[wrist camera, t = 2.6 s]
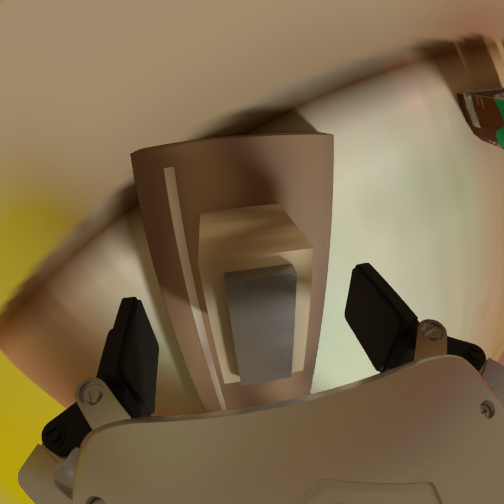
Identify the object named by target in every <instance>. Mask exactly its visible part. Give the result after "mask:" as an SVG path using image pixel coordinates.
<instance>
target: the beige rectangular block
mask: <svg viewBox="0 0 504 504" xmlns="http://www.w3.org/2000/svg"><path fill="white" fill-rule="evenodd" d="M313 253H314V248H313V246H312V245H311V244H310V242H309V241H308V240H307V238H306V237H305V236H304V235H303V233H302V232H301V231H300V229H299V228H298V227H297V226H296V224H295V223H294V222H293V220H292V219H291V218H290V217H289V215H288V214H287V213H286V212H285V210H284V209H283V208H282V207H281V205H280V204H270V205H261V206H251V207H243V208H234V209H226V210H218V211H210V212H202V213H200V227H199V252H198V265H199V271H200V276H201V281H202V286H203V291H204V296H205V301H206V306H207V311H208V315H209V320H210V324H211V329H212V333H213V338H214V342H215V347H216V351H217V355H218V359H219V363H220V367H221V371H222V375H223V379H224V383H225V384H227V383H234V382H241V386H244V385H250V384H257V383H263V382H268V381H274V380H279V379H284V378H289V377H291V374H292V373H293V372H297V371H302V370H303V367H304V359H305V350H306V341H307V332H308V322H309V311H310V299H311V286H312V271H313Z"/></svg>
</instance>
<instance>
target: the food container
mask: <svg viewBox="0 0 504 504" xmlns="http://www.w3.org/2000/svg"><path fill="white" fill-rule="evenodd" d="M457 95H458V99H459V103H460V107H461V109H462V112H463V114H464V117H465V119H466V122H467V123H468V125H469V127H470V128H471V130H472V131H473V133H474V134H475V135H476V136H477V137H479V138H480V139H481V140H483V141H485V142H488V143H490V144H493V145H495V146H497V147H500V148H502V149H504V88H491V89H482V90H474V91H467V92H460V93H457Z"/></svg>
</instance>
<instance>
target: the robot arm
mask: <svg viewBox="0 0 504 504" xmlns="http://www.w3.org/2000/svg"><path fill="white" fill-rule="evenodd" d="M345 319H346V321H347V322H348V324H349V326H350V327H351V329H352V330H353V332H354V334H355V335H356V337H357V339H358V340H359V342H360V344H361V345H362V347H363V349H364V350H365V352H366V354H367V355H368V357H369V359H370V361H371V362H372V364H373V366H374V367H375V369H376V370H377V371H380V373H379V374H377V375H374V376H371V377H368V378H365V379H362V380H359V381H356V382H353V383H350V384H346V385H343V386H340V387H336V388H333V389H329V390H326V391H322V392H318V393H315V394H311V395H307V396H303V397H298V398H294V399H290V400H285V401H280V402H275V403H270V404H265V405H259V406H254V407H248V408H241V409H234V410H227V411H219V412H210V413H200V414H188V415H175V416H156V417H151V414H153V413H154V411H155V393H156V378H157V365H158V354H159V346H158V342H157V340H156V337H155V335H154V332H153V330H152V327H151V325H150V322H149V320H148V317H147V315H146V312H145V310H144V307H143V304H142V302H141V300H137V298H136V297H129V298H123V299H122V301H121V304H120V307H119V310H118V314H117V317H116V320H115V324H114V327H113V329H111V330H110V331H109V333H108V336H107V339H106V343H105V346H104V350H103V354H102V357H101V361H100V365H99V369H98V373H97V377H96V378H89V379H86V380H84V381H83V382H82V383H80V384H79V386H78V387H77V389H76V392H75V399H76V402H75V403H74V404H73V405H71V406H70V407H69V408H67V409H66V410H65V411H64V412H62V413H61V414H60V415H58V416H57V417H56V418H54V419H53V420H52V421H50V422H49V423H48V424H47V425H46V426H45V427H44V429H43V431H42V442H43V443H42V444H41V445H39V444H38V445H37V446H36V447H35V449H34V450H33V452H32V453H31V454H30V456H29V457H28V459H27V460H26V462H25V463H24V465H23V466H22V468H21V469H20V471H19V473H18V481H19V484H20V486H21V488H22V489H23V490H24V491H25V492H26V494H27V495H28V496H29V497H30V498H31V499H32V500H33V501H34V502H35V504H504V366H503V365H501V364H499V363H498V362H496V361H494V360H492V359H491V358H488V359H486V356H485V353H484V351H483V350H482V349H481V348H480V347H479V346H477V345H475V344H472V343H468V342H465V341H461V340H458V339H455V338H451V337H448V336H447V332H446V329H445V327H444V326H443V325H442V324H441V323H439V322H438V321H435V320H430V319H427V320H423V321H421V322H420V323H419V321H418V320H417V319H418V317H417V316H416V315H415V314H414V313H413V311H412V310H411V309H410V308H409V307H408V305H407V304H406V303H405V302H404V301H403V300H402V299H401V297H400V296H399V295H398V294H397V293H396V292H395V291H394V290H393V288H392V287H391V286H390V285H389V284H388V283H387V282H386V281H385V280H384V278H383V277H382V276H381V275H380V274H379V273H378V272H377V271H376V270H375V269H374V268H373V267H372V266H371V265H370V264H369V263H363V264H358V265H356V267H355V268H354V269H353V270H352V276H351V281H350V287H349V293H348V298H347V303H346V308H345Z"/></svg>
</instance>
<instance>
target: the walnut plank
mask: <svg viewBox="0 0 504 504" xmlns="http://www.w3.org/2000/svg"><path fill="white" fill-rule="evenodd" d="M130 155H131V161H132V167H133V173H134V179H135V185H136V190H137V195H138V200H139V205H140V210H141V215H142V219H143V224H144V228H145V232H146V237H147V241H148V245H149V249H150V253H151V257H152V260H153V264H154V268H155V272H156V275H157V279H158V282H159V286H160V289H161V292H162V296H163V299H164V302H165V306H166V309H167V312H168V315H169V318H170V321H171V324H172V327H173V330H174V333H175V336H176V339H177V342H178V344H179V347H180V350H181V353H182V355H183V358H184V361H185V363H186V366H187V369H188V371H189V374H190V376H191V379H192V381H193V384H194V386H195V389H196V391H197V393H198V396H199V398H200V401H201V403H202V405H203V407H204V410H205V412H206V413H210V412H219V411H227V410H234V409H241V408H248V407H254V406H259V405H265V404H270V403H275V402H280V401H285V400H290V399H294V398H298V397H303V396H307V395H310V390H311V385H312V379H313V374H314V368H315V362H316V356H317V350H318V344H319V337H320V330H321V323H322V316H323V308H324V300H325V291H326V282H327V272H328V261H329V249H330V236H331V220H332V200H333V163H334V135H332V134H327V133H321V132H284V133H262V134H247V135H235V136H224V137H215V138H206V139H198V140H191V141H184V142H177V143H171V144H165V145H160V146H154V147H149V148H144V149H139V150H138V151H135V152H133V153H131V154H130ZM270 204H280V205H281V207H282V208H283V209H284V210H285V212H286V213H287V214H288V215H289V217H290V218H291V219H292V220H293V222H294V223H295V224H296V226H297V227H298V228H299V229H300V231H301V232H302V233H303V235H304V236H305V237H306V238H307V240H308V241H309V242H310V244H311V245H312V246H313V248H314V253H313V271H312V286H311V299H310V311H309V322H308V332H307V341H306V350H305V359H304V367H303V370H302V371H297V372H293V373H292V374H291V377H289V378H284V379H279V380H274V381H268V382H263V383H257V384H250V385H244V386H241V382H234V383H227V384H225V383H224V379H223V375H222V371H221V367H220V363H219V359H218V355H217V351H216V347H215V342H214V338H213V333H212V329H211V324H210V320H209V315H208V311H207V306H206V301H205V296H204V291H203V286H202V281H201V276H200V271H199V265H198V252H199V227H200V213H202V212H210V211H218V210H226V209H234V208H243V207H251V206H261V205H270Z"/></svg>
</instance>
